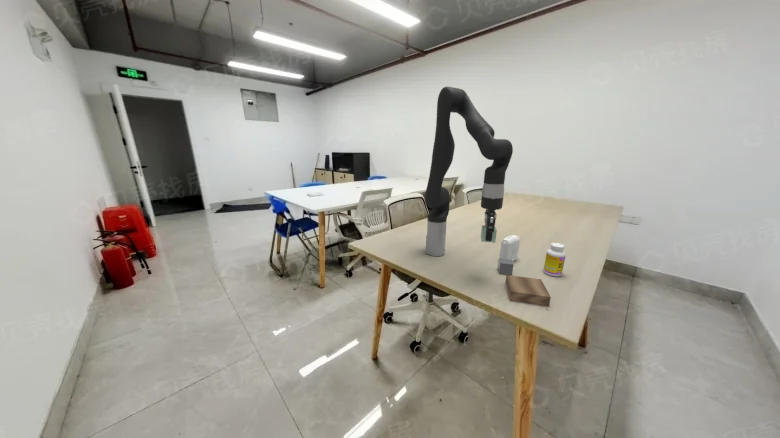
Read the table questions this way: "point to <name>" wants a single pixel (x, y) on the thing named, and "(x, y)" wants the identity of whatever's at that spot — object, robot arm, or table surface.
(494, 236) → the sage cube
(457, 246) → the table surface
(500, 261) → the charcoal cube
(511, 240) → the photo printer
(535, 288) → the walnut block
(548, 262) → the supplement bottle
